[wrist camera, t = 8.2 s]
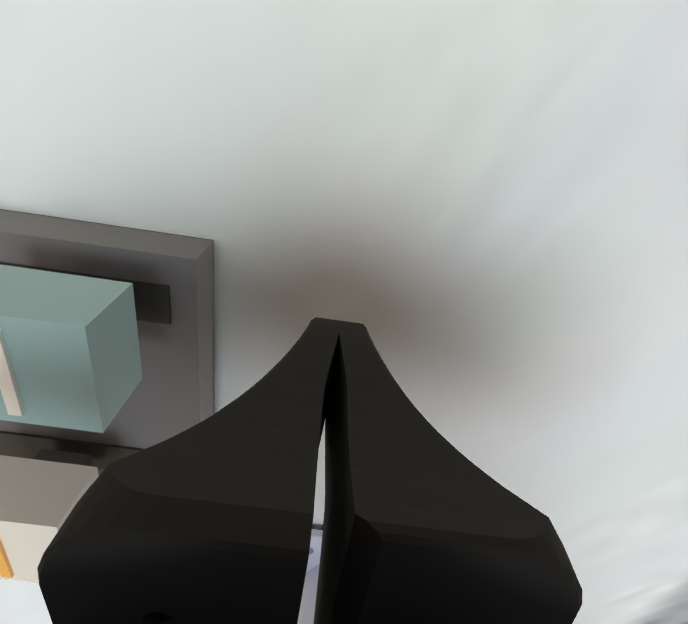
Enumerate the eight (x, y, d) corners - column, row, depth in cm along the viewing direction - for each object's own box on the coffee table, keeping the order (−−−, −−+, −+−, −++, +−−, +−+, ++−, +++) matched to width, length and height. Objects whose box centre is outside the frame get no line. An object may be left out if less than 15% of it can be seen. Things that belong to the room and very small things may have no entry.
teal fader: (160, 352, 12) (100, 436, 10) (34, 335, 12) (-66, 415, 9) (154, 263, 11) (82, 329, 8) (11, 242, 11) (-113, 302, 8)
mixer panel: (214, 488, 18) (202, 523, 17) (-118, 447, 18) (-160, 480, 16) (213, 240, 13) (194, 260, 11) (-264, 171, 12) (-344, 183, 11)
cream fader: (125, 494, 16) (71, 590, 13) (23, 482, 15) (-55, 576, 13) (116, 438, 14) (54, 531, 11) (5, 423, 14) (-87, 514, 11)
